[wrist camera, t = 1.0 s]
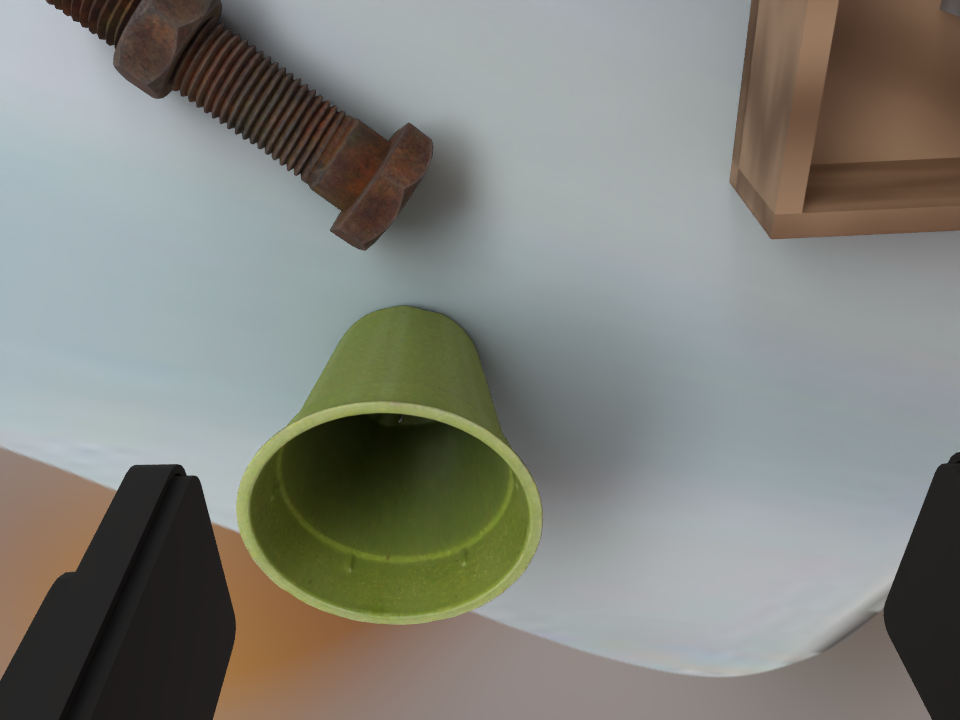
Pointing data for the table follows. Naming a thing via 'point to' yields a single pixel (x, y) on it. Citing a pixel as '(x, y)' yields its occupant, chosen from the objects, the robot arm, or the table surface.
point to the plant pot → (393, 481)
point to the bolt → (262, 106)
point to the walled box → (850, 117)
